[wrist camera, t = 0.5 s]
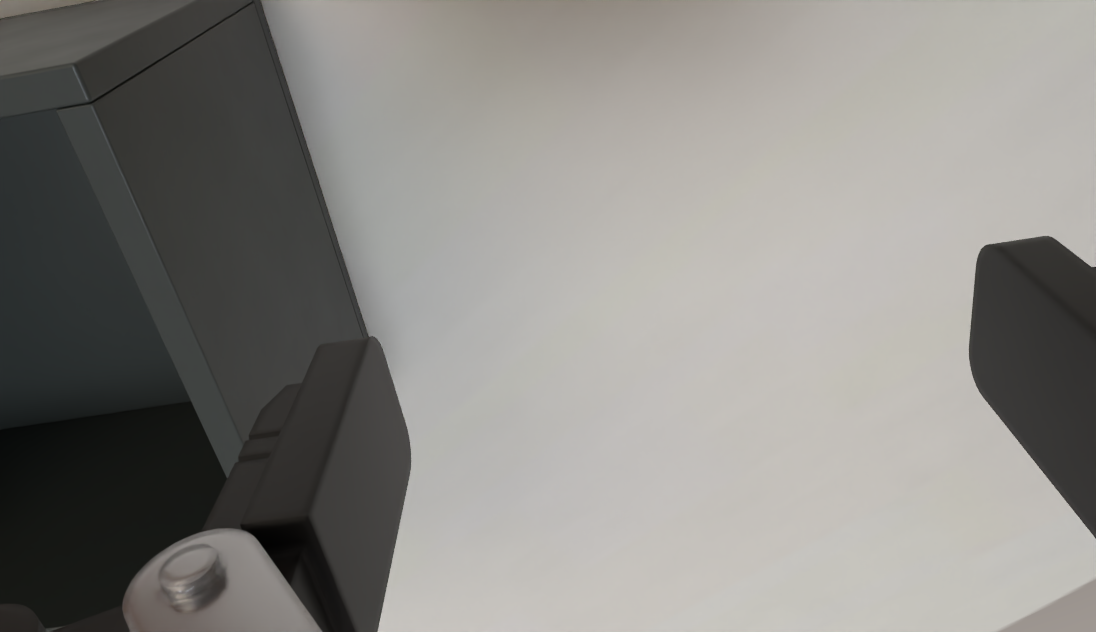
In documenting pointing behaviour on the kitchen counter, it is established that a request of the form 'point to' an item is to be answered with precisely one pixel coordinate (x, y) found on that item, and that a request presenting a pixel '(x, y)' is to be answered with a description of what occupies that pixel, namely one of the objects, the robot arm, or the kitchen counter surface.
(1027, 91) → the kitchen counter surface
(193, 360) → the trash bin
